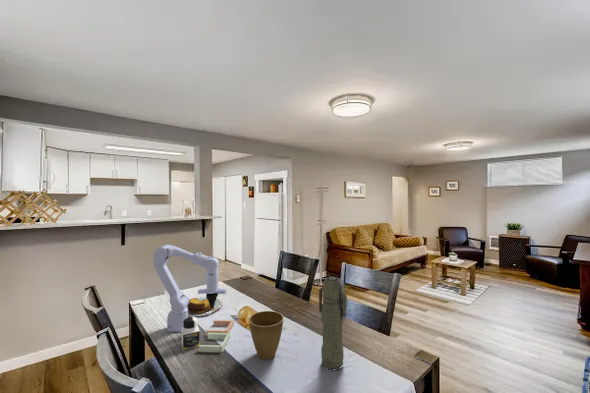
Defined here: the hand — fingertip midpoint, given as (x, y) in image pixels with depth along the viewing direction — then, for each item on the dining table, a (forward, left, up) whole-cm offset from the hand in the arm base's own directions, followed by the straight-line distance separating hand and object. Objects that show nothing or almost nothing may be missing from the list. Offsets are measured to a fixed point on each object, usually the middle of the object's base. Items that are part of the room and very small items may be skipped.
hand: (212, 307), depth 146 cm
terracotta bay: (+5, -3, -10) cm, 12 cm away
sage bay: (+7, -17, -10) cm, 21 cm away
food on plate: (-15, +23, -11) cm, 30 cm away
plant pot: (+32, -24, -11) cm, 41 cm away
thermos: (+60, -29, -11) cm, 67 cm away
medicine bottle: (-4, -17, -11) cm, 21 cm away
